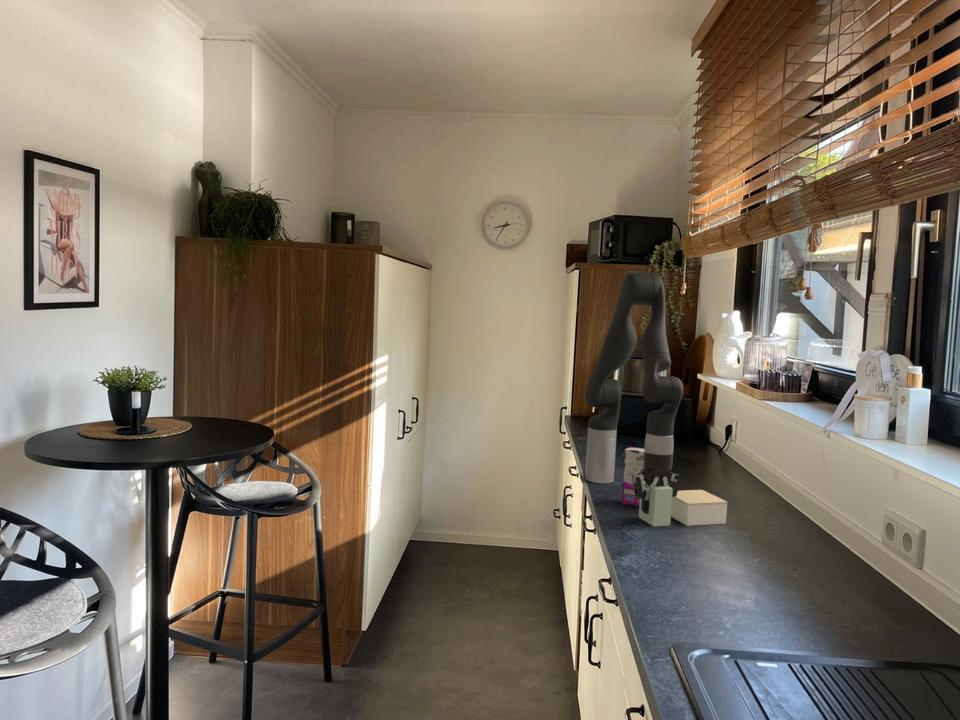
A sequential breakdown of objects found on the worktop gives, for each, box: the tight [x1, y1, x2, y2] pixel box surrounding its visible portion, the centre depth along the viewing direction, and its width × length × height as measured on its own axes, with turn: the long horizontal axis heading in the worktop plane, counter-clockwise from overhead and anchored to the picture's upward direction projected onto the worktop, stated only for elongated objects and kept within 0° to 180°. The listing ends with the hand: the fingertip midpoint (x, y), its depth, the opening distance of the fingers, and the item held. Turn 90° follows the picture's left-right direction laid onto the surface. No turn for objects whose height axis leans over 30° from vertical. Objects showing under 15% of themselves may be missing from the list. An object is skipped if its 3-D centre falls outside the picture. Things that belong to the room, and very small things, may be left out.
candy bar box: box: [621, 446, 644, 508], centre depth 212 cm, size 11×5×16 cm, turn 62°
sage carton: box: [638, 481, 673, 527], centre depth 198 cm, size 8×5×10 cm, turn 16°
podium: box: [671, 489, 728, 527], centre depth 203 cm, size 12×12×6 cm
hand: (654, 512), depth 198 cm, fingers closed on sage carton, 5 cm apart
